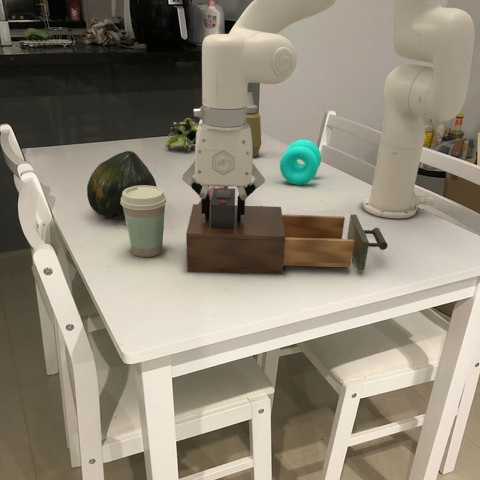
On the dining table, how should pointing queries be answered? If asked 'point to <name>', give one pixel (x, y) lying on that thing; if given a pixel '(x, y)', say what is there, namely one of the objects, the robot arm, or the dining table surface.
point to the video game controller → (212, 192)
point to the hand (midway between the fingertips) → (223, 216)
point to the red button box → (222, 208)
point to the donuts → (297, 171)
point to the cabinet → (237, 242)
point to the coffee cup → (144, 218)
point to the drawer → (327, 241)
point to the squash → (116, 182)
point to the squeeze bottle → (253, 124)
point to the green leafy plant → (183, 133)
